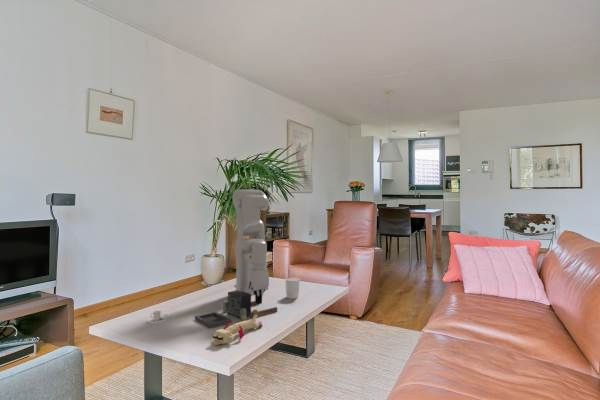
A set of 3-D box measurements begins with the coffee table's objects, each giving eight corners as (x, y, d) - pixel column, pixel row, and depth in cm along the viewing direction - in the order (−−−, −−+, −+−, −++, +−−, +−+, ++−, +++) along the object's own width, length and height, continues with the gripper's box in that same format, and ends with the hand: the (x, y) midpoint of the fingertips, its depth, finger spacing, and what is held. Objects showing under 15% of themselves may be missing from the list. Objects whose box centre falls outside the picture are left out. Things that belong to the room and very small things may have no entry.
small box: (251, 315, 165) (252, 293, 165) (240, 319, 160) (240, 296, 160) (238, 310, 172) (238, 289, 172) (227, 314, 167) (227, 291, 167)
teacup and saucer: (169, 317, 163) (169, 308, 163) (166, 323, 156) (166, 313, 156) (149, 318, 162) (149, 309, 162) (145, 324, 154) (145, 315, 154)
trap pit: (194, 319, 159) (194, 316, 159) (215, 314, 166) (215, 311, 166) (210, 328, 148) (210, 324, 148) (231, 322, 155) (231, 319, 155)
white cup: (283, 296, 198) (283, 278, 198) (296, 294, 202) (296, 277, 201) (288, 299, 191) (288, 281, 191) (301, 298, 194) (301, 280, 194)
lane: (223, 311, 170) (223, 301, 170) (257, 303, 184) (257, 294, 184) (242, 321, 157) (242, 309, 157) (277, 311, 171) (277, 301, 171)
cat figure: (247, 327, 154) (204, 342, 132) (249, 306, 154) (206, 318, 133) (266, 332, 149) (224, 348, 127) (267, 310, 149) (225, 323, 128)
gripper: (266, 263, 181) (266, 298, 182) (241, 267, 172) (241, 304, 172) (275, 265, 176) (275, 302, 176) (250, 269, 166) (250, 308, 166)
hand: (258, 303), depth 174 cm, fingers closed
